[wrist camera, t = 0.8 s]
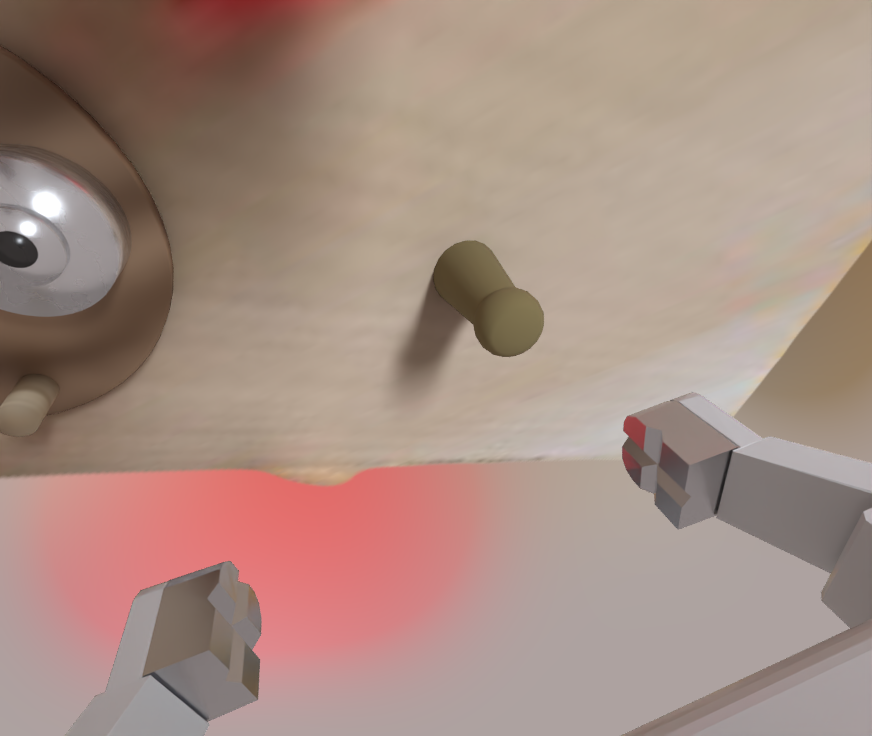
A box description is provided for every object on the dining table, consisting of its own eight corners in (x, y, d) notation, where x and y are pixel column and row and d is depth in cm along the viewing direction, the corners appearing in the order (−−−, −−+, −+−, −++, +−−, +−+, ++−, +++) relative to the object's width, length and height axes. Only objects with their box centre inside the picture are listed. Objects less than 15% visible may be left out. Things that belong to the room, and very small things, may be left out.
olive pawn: (446, 314, 42) (491, 382, 34) (423, 259, 39) (468, 320, 30) (503, 285, 43) (563, 346, 34) (486, 228, 39) (549, 280, 30)
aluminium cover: (-103, 163, 24) (-163, 183, 21) (76, 127, 26) (47, 140, 22) (17, 307, 30) (-15, 342, 26) (158, 271, 31) (145, 300, 28)
